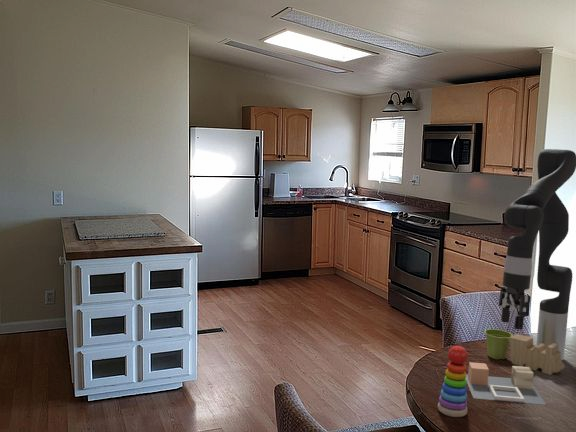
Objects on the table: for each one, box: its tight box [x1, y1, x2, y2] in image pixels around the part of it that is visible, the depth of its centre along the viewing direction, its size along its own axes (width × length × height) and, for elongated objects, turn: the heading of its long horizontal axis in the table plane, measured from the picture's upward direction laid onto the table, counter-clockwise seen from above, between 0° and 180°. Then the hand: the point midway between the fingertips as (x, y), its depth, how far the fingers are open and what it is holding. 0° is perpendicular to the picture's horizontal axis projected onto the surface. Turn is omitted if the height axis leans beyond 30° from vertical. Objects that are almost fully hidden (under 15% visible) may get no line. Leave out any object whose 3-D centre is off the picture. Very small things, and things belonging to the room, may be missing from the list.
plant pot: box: [484, 328, 514, 360], centre depth 198 cm, size 9×9×9 cm
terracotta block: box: [467, 361, 490, 385], centre depth 173 cm, size 5×5×5 cm
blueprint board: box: [465, 373, 547, 406], centre depth 168 cm, size 18×20×2 cm
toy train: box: [508, 333, 566, 376], centre depth 186 cm, size 6×17×10 cm, turn 44°
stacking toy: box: [437, 345, 468, 418], centre depth 153 cm, size 8×8×19 cm
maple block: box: [510, 365, 534, 389], centre depth 171 cm, size 5×5×5 cm
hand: (511, 325), depth 166 cm, fingers open, 8 cm apart
